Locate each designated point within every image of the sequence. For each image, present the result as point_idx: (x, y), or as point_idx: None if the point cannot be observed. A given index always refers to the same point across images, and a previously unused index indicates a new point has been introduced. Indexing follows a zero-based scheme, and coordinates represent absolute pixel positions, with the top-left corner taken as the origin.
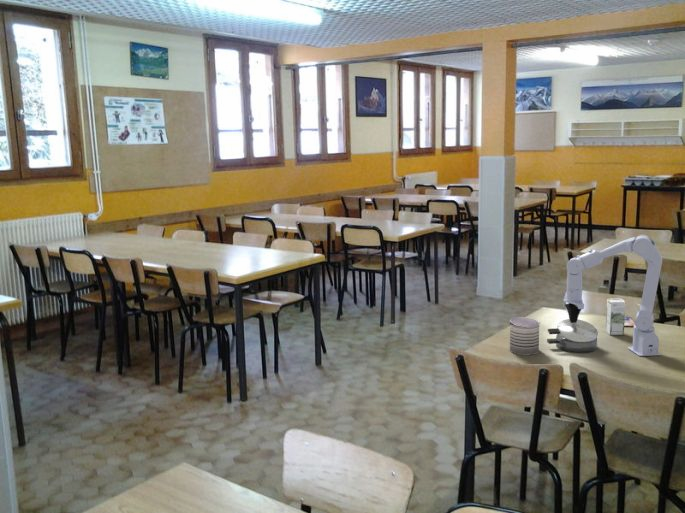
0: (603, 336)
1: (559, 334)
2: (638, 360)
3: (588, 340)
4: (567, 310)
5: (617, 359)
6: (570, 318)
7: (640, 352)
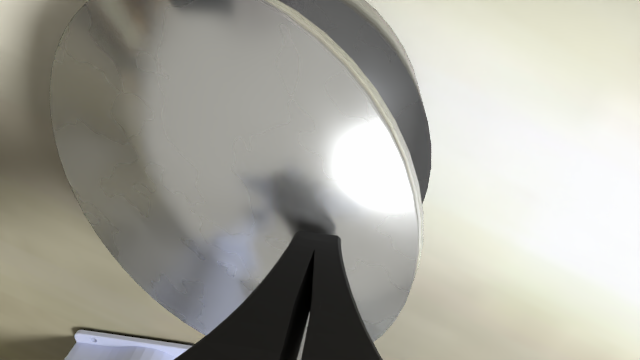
0: (428, 357)
1: (361, 52)
2: (21, 297)
3: (73, 187)
4: (366, 349)
5: (19, 226)
6: (291, 260)
7: (90, 350)
